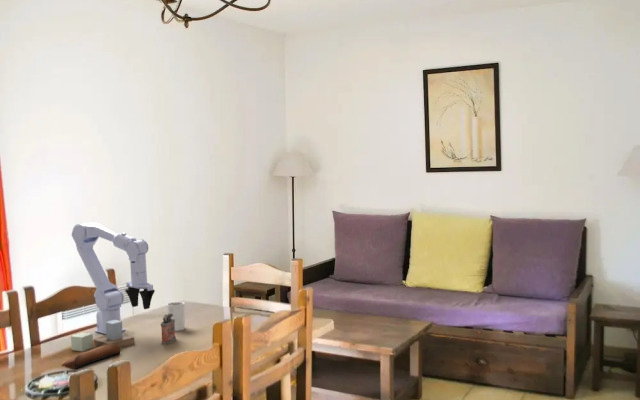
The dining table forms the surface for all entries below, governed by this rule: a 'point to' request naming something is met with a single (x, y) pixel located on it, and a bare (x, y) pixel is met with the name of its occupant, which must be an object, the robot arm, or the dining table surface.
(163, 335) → the lighter
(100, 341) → the walnut block
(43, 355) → the dining table surface
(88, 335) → the sage cube
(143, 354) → the dining table surface
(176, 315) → the white cup
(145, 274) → the robot arm
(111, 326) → the blue block
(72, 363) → the brown tapered cylinder
